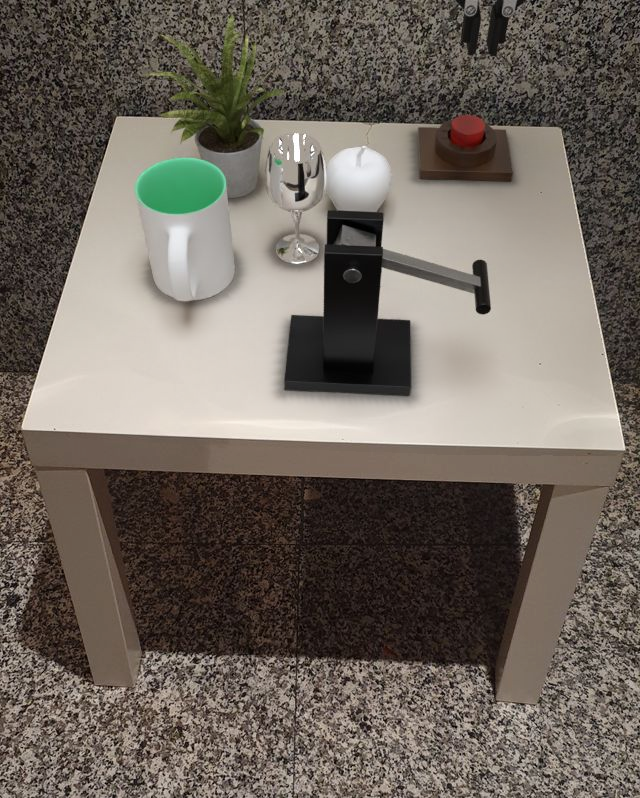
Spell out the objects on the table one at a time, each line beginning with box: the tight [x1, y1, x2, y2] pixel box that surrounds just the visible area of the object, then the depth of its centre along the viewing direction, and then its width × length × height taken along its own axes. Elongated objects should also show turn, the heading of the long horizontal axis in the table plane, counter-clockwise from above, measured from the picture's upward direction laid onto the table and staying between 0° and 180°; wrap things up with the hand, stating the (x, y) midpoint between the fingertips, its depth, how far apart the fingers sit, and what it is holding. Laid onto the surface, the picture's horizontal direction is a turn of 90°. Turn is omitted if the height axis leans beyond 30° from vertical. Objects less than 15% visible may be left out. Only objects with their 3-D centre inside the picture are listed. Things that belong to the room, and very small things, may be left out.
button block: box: [417, 118, 514, 182], centre depth 93 cm, size 10×8×3 cm
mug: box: [134, 157, 236, 302], centre depth 77 cm, size 12×8×10 cm, turn 4°
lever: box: [334, 225, 492, 315], centre depth 67 cm, size 13×5×2 cm, turn 86°
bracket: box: [283, 209, 412, 397], centre depth 70 cm, size 11×8×15 cm
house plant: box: [144, 13, 286, 199], centre depth 86 cm, size 14×14×16 cm
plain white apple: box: [325, 145, 393, 212], centre depth 86 cm, size 7×7×8 cm
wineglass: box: [264, 132, 327, 265], centre depth 80 cm, size 6×6×12 cm
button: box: [450, 114, 486, 147], centre depth 91 cm, size 4×4×2 cm
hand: (481, 47), depth 84 cm, fingers closed
